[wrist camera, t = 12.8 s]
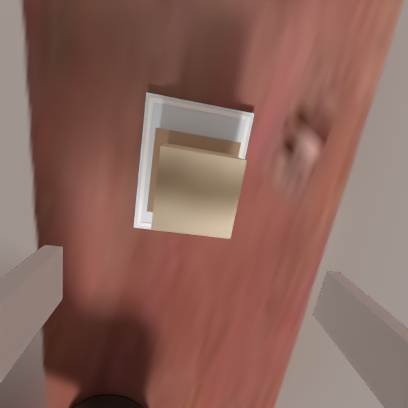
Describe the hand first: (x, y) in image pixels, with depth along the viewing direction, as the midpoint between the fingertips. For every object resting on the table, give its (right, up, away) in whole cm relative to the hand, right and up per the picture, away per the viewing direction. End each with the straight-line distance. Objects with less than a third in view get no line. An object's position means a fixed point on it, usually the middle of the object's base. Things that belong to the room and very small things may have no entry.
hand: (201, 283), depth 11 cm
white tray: (-2, +9, +21) cm, 23 cm away
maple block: (-1, +7, +16) cm, 18 cm away
